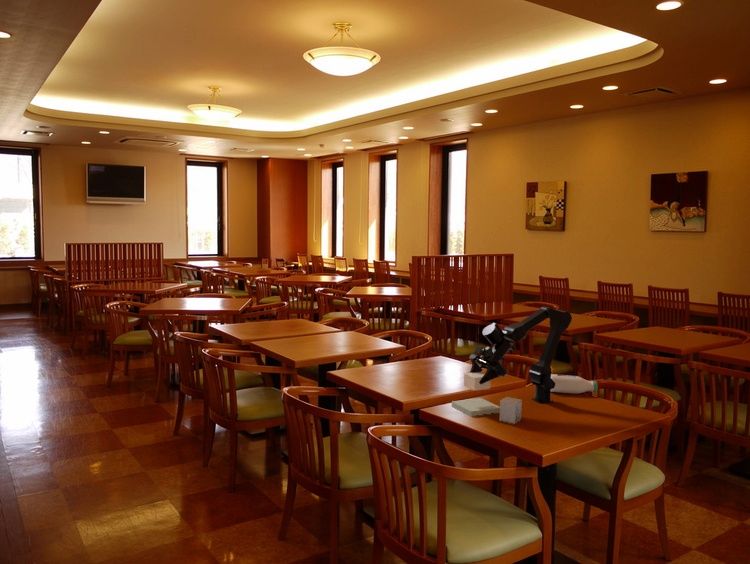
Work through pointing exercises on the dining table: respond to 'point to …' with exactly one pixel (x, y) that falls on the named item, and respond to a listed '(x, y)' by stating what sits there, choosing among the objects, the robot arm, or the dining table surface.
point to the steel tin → (510, 410)
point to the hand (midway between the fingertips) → (474, 381)
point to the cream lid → (475, 381)
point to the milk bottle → (572, 384)
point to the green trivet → (475, 407)
